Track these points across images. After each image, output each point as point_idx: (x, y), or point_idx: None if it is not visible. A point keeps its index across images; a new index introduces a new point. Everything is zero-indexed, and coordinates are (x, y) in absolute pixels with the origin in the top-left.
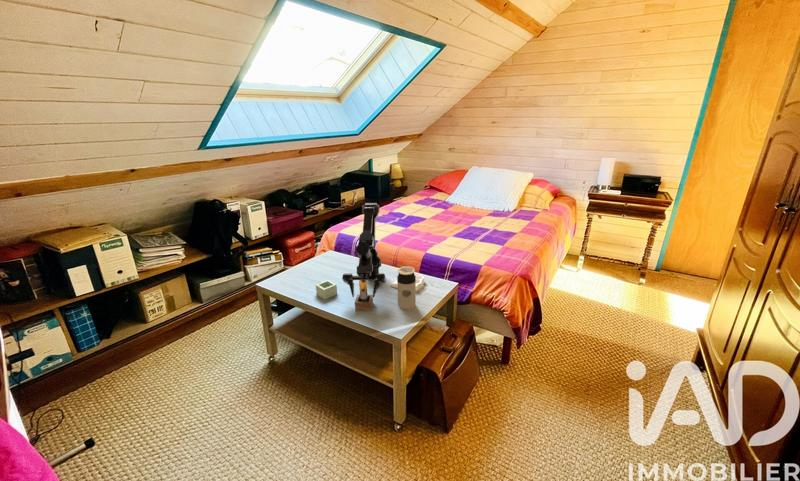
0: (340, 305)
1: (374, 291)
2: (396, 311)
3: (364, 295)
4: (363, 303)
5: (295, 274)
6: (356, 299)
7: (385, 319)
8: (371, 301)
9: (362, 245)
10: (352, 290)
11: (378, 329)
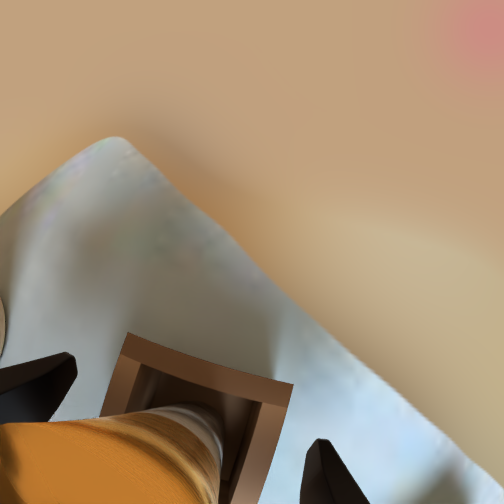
0: (368, 488)
1: (21, 369)
2: (25, 306)
3: (162, 407)
4: (200, 360)
5: None
6: (267, 446)
7: (100, 250)
8: (116, 381)
9: None
10: (342, 495)
11: (168, 181)
